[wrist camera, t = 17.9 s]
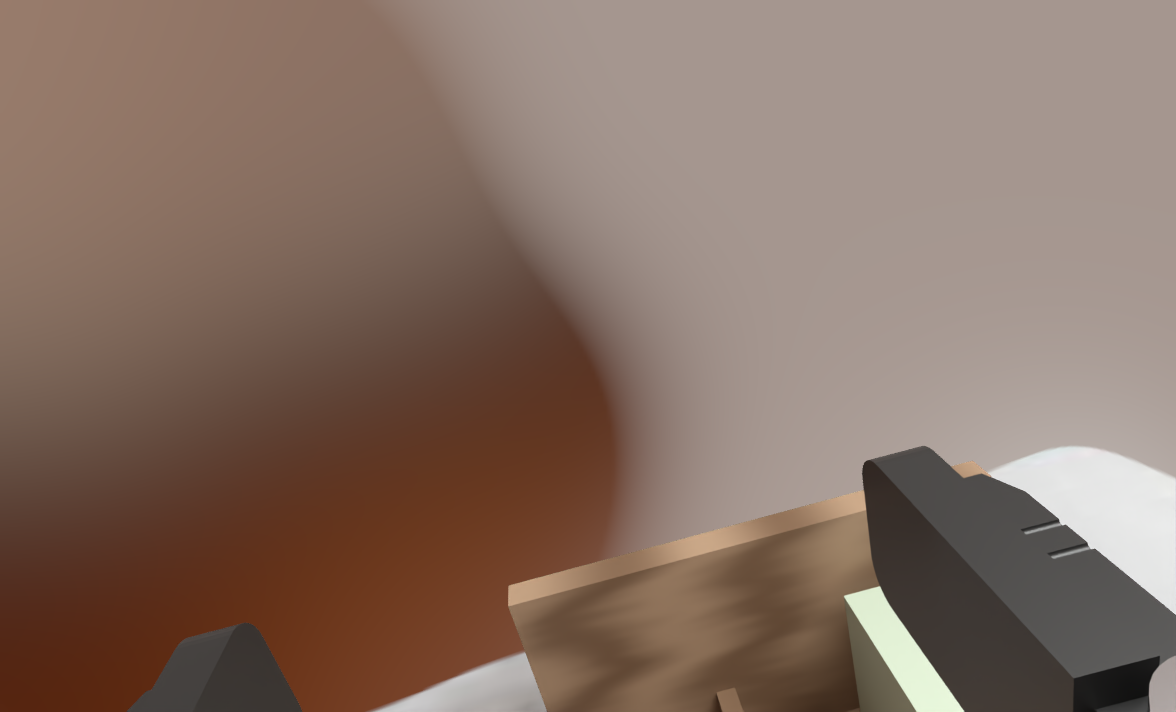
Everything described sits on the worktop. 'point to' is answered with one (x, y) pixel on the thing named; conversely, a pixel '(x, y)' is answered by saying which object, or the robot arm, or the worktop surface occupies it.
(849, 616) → the offcut
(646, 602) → the rack
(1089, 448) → the worktop surface
